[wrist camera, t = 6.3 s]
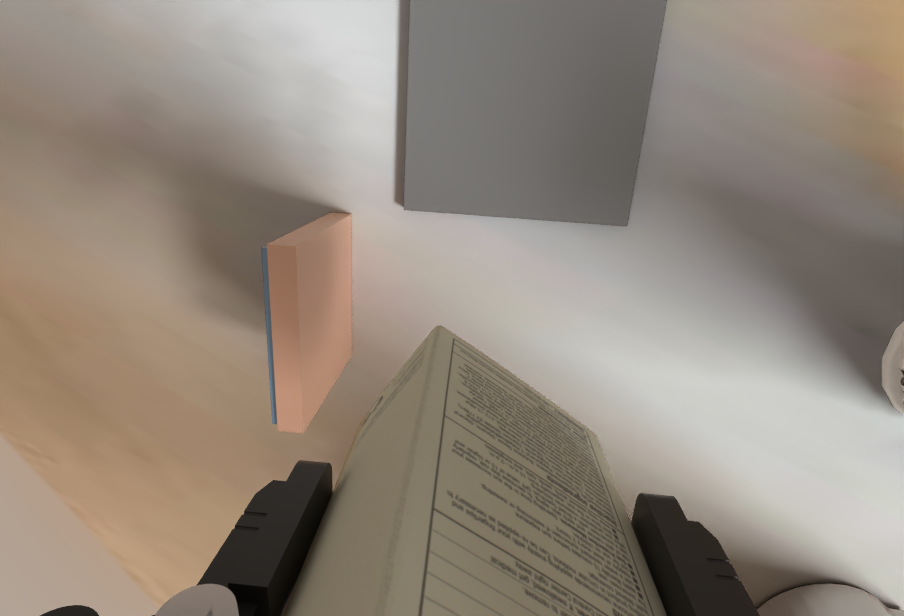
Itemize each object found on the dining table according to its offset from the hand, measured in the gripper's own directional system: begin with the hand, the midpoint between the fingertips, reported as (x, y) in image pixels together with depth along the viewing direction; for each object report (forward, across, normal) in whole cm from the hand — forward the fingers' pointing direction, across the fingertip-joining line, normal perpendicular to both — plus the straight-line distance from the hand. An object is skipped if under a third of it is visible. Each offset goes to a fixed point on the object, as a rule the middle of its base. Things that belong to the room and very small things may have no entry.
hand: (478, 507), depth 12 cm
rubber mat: (+16, -1, -10) cm, 19 cm away
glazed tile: (+16, +8, 0) cm, 18 cm away
